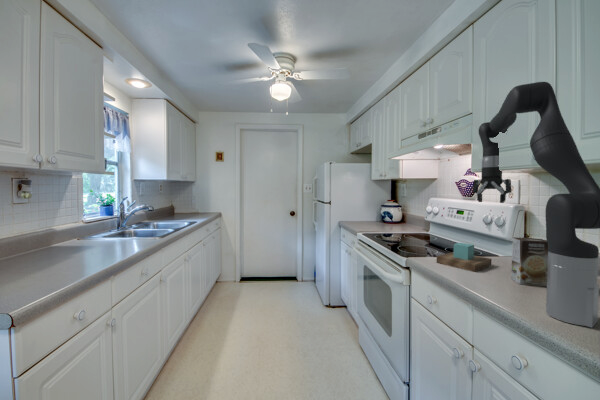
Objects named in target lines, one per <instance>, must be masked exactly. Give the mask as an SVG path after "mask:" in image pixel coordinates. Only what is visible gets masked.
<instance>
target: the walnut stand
mask: <svg viewBox="0 0 600 400" xmlns="http://www.w3.org/2000/svg"><path fill="white" fill-rule="evenodd" d="M453 255H454V251H452V252H447V253H445V254H440V255H436V264H440V265H445V266H449V267H454V268H458V269H462V270H465V271H470V272H478V271H480V270H483V269H485V268H488V267H490V266H492V258H489V257H484V256H480V255H479V256H478V255H474V258H472V259H470V260H465V259H460V258H455V257H453Z"/></svg>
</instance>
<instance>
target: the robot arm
mask: <svg viewBox="0 0 600 400" xmlns="http://www.w3.org/2000/svg"><path fill="white" fill-rule="evenodd" d="M533 112H537V113H538V114H539V118H540V120H539V123H538V125H537V127H536V129H534V132H533V133H532V135H531V138H530V140H529V148H530V150H531V152H532V153H531V154H532V155H533V158H534V160H535V162H536V163H537V165H538V166H539V167H540V168H542V169H543V170H544V171H546V172H547V173H548V174H549V175H550V176H553V177H554V178H556V179H557V180H558V181H559V182H561V183H562V185H563V186H564V187H565V188H566V190H567V191H568V193H556V194H553V195H551V197H549V198H548V200H547V202H546V205H545V237H546V239H545V240H547V243H548V271H547V287H546V298H545V299H546V303H545V312H546V314H547V315H549V316H550V317H552V318H553V319H556V320H559V321H561V322H565V323H568V324H572V325H576V326H583V327H588V328H592V329H593V328H594V326H596V324H597V323H598V321H599V319H598V318H599V317H598V316H599V300H600V299H599V295H600V286H599V285H598V278H599V277H598V275H599V274H598V273H599V254H600V253H599V252H600V249H599V247H598V246H597V245H596V244H595V243H590V242H587V241H584V240H583V239H580V238H578V236H577V234H576V229H579V230H581V229H583V230H585V229H586V230H594V229H595V230H596V229H600V186H599V185H598V183H597V182H596V180H595V178H594V177H593V176H592V174H591V172H590V171H589V169H588V168H587V166H586V163H585V162H584V160H583V158H582V155H581V154H580V152H579V149H578V146H577V144H576V142H575V140H574V138H573V135H572V134H571V131H569V129H568V126H567V125H566V122H565V120H564V118H563V115H562V113H561V110H560V106H559V103H558V100H557V97H556V94H555V90H554V88H553V86H552V84H551V83H550V82H547V81H538V82H530V83H524V84H519V85H516V86H514V87H513V88H512V89H510V91H509V92H508V93H507V94H506V96H505V99H504V101H503V102H502V105H501V107H500V109H499V111H498V112H497V113H496V114H495V116H493V117H492V118H491V120H490V122H483V123H481V124H480V125H479V126H478V136H479V139H480V142H481V146H482V160H481V180H479V179H473V185H472V192H473V193H475V194H476V195H477V196H476V199H477V201H478V203H482V202H483V192H484V191H486V190H497V191H498V192H499V193H500V195H499V203H501V204H503V203H505V202H506V198H507V194H509V193H512V179H510V178H507V179H506V178H505V179H503V170H502V171H500V170H499V166H498V165H499V148H498V143H499V142H494V141H492V140H491V139H495V138H494V137H496V136H497V135H498V134H499V132H502V133H505V132H506V131H507V132H508V130H509V128H510V127H511V126H513V125H514V123H516V120H517V114H525V113H533ZM507 129H508V130H507ZM480 184H481V186H480V188H479V185H480ZM502 184H504V185H505V189H504V187H503V186H502Z"/></svg>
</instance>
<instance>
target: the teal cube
mask: <svg viewBox="0 0 600 400" xmlns="http://www.w3.org/2000/svg"><path fill="white" fill-rule="evenodd" d="M453 252H454V255H453V257H455V258H460V259H465V260H470V259H472V258H474V256H475V244H471V243H464V242H457V243H454V244H453Z"/></svg>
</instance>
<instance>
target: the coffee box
mask: <svg viewBox="0 0 600 400" xmlns="http://www.w3.org/2000/svg"><path fill="white" fill-rule="evenodd" d="M511 250H512V251H511V253H512V254H511V268H510V269H511V270H510V273H511V274H510V279H511V280H513V282H515V283H517V284H519V285H526V286H535V287H546V288H547V271H548V243H547V239H542V238H533V237H516V236H515V237H512V249H511Z"/></svg>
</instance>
